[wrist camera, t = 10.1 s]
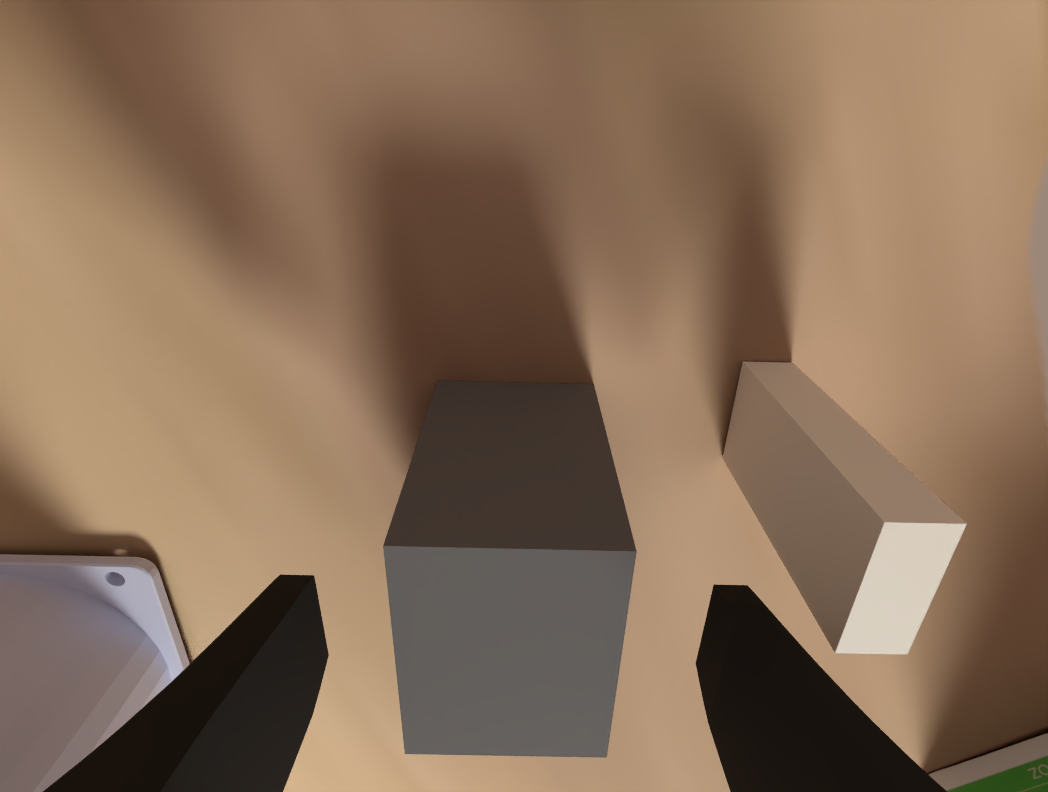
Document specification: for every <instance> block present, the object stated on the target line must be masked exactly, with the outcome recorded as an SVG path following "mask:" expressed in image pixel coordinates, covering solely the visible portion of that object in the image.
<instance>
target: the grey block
mask: <svg viewBox="0 0 1048 792" xmlns="http://www.w3.org/2000/svg"><path fill="white" fill-rule="evenodd" d="M383 548H384V557H385V567H386V577H387V586H388V596H389V605H390V615H391V624H392V634H393V644H394V653H395V663H396V672H397V682H398V691H399V701H400V711H401V720H402V730H403V739H404V749H405V754H440V755H496V756H553V757H607V751H608V744H609V737H610V731H611V724H612V717H613V710H614V703H615V696H616V689H617V682H618V675H619V668H620V661H621V655H622V648H623V641H624V634H625V627H626V620H627V613H628V606H629V599H630V592H631V585H632V579H633V572H634V565H635V558H636V548H635V544H634V540H633V536H632V532H631V528H630V524H629V520H628V517H627V513H626V509H625V505H624V501H623V497H622V493H621V489H620V485H619V481H618V477H617V473H616V470H615V466H614V462H613V458H612V454H611V450H610V446H609V442H608V438H607V434H606V430H605V426H604V423H603V419H602V415H601V411H600V407H599V403H598V399H597V395H596V391H595V387H594V384H570V383H529V382H488V381H446V380H438V381H437V384H436V387H435V390H434V393H433V396H432V399H431V402H430V405H429V408H428V411H427V414H426V417H425V421H424V424H423V427H422V430H421V433H420V436H419V439H418V442H417V445H416V448H415V451H414V454H413V457H412V460H411V463H410V466H409V469H408V472H407V475H406V478H405V481H404V484H403V488H402V491H401V494H400V497H399V500H398V503H397V506H396V509H395V512H394V515H393V518H392V521H391V524H390V527H389V530H388V533H387V536H386V539H385V542H384V545H383Z"/></svg>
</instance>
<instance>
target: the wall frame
mask: <svg viewBox="0 0 1048 792" xmlns="http://www.w3.org/2000/svg"><path fill="white" fill-rule="evenodd" d="M723 459H724V461H725V463H726V465H727V466H728V468H729V470H730V472H731V473H732V475H733V477H734V479H735V480H736V482H737V484H738V485H739V487H740V489H741V491H742V492H743V494H744V496H745V498H746V499H747V501H748V503H749V505H750V506H751V508H752V510H753V512H754V513H755V515H756V517H757V518H758V520H759V522H760V524H761V525H762V527H763V529H764V531H765V532H766V534H767V536H768V538H769V539H770V541H771V543H772V544H773V546H774V548H775V550H776V551H777V553H778V555H779V557H780V558H781V560H782V562H783V564H784V565H785V567H786V569H787V570H788V572H789V574H790V576H791V577H792V579H793V581H794V583H795V584H796V586H797V588H798V590H799V591H800V593H801V595H802V596H803V598H804V600H805V602H806V603H807V605H808V607H809V609H810V610H811V612H812V614H813V616H814V617H815V619H816V621H817V622H818V624H819V626H820V628H821V629H822V631H823V633H824V635H825V636H826V638H827V640H828V642H829V643H830V645H831V647H832V648H833V650H834V652H835V653H860V654H908V652H909V649H910V647H911V645H912V643H913V641H914V638H915V636H916V634H917V632H918V630H919V628H920V625H921V623H922V621H923V619H924V617H925V614H926V612H927V610H928V608H929V606H930V603H931V601H932V599H933V597H934V595H935V593H936V590H937V588H938V586H939V584H940V582H941V579H942V577H943V575H944V573H945V571H946V568H947V566H948V564H949V562H950V560H951V558H952V555H953V553H954V551H955V549H956V547H957V544H958V542H959V540H960V538H961V536H962V533H963V531H964V529H965V527H966V525H967V524H966V523H965V522H964V521H963V520H962V519H961V518H960V517H959V516H958V515H957V514H956V513H954V512H953V511H952V510H951V509H950V508H949V507H948V506H947V505H946V504H945V503H944V502H943V501H942V500H940V499H939V498H938V497H937V496H936V495H935V494H934V493H933V492H932V491H931V490H930V489H929V488H927V487H926V486H925V485H924V484H923V483H922V482H921V481H920V480H919V479H918V478H917V477H916V476H914V475H913V474H912V473H911V472H910V471H909V470H908V469H907V468H906V467H905V466H904V465H903V464H902V463H900V462H899V461H898V460H897V459H896V458H895V457H894V456H893V455H892V454H891V453H890V452H889V451H887V450H886V449H885V448H884V447H883V446H882V445H881V444H880V443H879V442H878V441H877V440H876V439H875V438H873V437H872V436H871V435H870V434H869V433H868V432H867V431H866V430H865V429H864V428H863V427H862V426H860V425H859V424H858V423H857V422H856V421H855V420H854V419H853V418H852V417H851V416H850V415H849V414H848V413H846V412H845V411H844V410H843V409H842V408H841V407H840V406H839V405H838V404H837V403H836V402H835V401H833V400H832V399H831V398H830V397H829V396H828V395H827V394H826V393H825V392H824V391H823V390H822V389H821V388H819V387H818V386H817V385H816V384H815V383H814V382H813V381H812V380H811V379H810V378H809V377H808V376H806V375H805V374H804V373H803V372H802V371H801V370H800V369H799V368H798V367H797V366H796V365H795V364H794V363H782V362H742V367H741V372H740V377H739V381H738V386H737V391H736V396H735V401H734V405H733V410H732V415H731V420H730V424H729V429H728V434H727V439H726V444H725V448H724V453H723Z"/></svg>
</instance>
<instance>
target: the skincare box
mask: <svg viewBox="0 0 1048 792" xmlns="http://www.w3.org/2000/svg"><path fill="white" fill-rule="evenodd" d="M928 775H929V776H930V777H931V778H932V779H934V780H935V781H936V782H937V783H938V784H939V785H940V786H942V787H943V788H944V789H945V790H946V791H947V792H1048V733H1046V734H1043V735H1040V736H1037V737H1034V738H1031V739H1028V740H1026V741H1023V742H1020V743H1017V744H1014V745H1012V746H1009V747H1006V748H1003V749H1000V750H998V751H995V752H992V753H989V754H986V755H983V756H980V757H977V758H974V759H971V760H968V761H966V762H963V763H960V764H957V765H954V766H951V767H948V768H945V769H941V770H938V771H936V772H933V773H930V774H928Z"/></svg>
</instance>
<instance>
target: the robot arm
mask: <svg viewBox="0 0 1048 792" xmlns="http://www.w3.org/2000/svg"><path fill="white" fill-rule="evenodd" d="M327 659H328V650H327V644H326V639H325V633H324V627H323V622H322V616H321V611H320V605H319V600H318V594H317V589H316V583H315V578H314V576H311V575H280V576H278V577H277V578H276V579H275V580H274V581H273V582H272V583H271V584H270V585H269V586H268V587H267V588H266V589H265V590H264V591H263V592H262V593H261V594H260V595H259V596H258V597H257V598H256V599H255V600H254V601H253V602H252V603H251V604H250V605H249V606H248V607H247V608H246V609H245V610H244V611H243V612H242V613H241V614H240V615H239V616H238V617H237V618H236V619H235V620H234V621H233V622H232V623H231V624H230V625H229V626H228V627H227V628H226V629H225V630H224V631H223V632H222V633H221V634H220V635H219V636H218V637H217V638H216V639H215V640H214V641H213V642H212V643H211V644H210V645H209V646H208V647H207V648H206V649H205V650H204V651H203V652H202V653H201V654H200V655H199V656H198V657H197V658H196V659H195V660H194V661H192V662H191V663H189V660H188V657H187V654H186V651H185V648H184V645H183V642H182V639H181V636H180V633H179V630H178V627H177V624H176V621H175V618H174V615H173V612H172V609H171V606H170V603H169V600H168V597H167V594H166V592H165V589H164V586H163V583H162V580H161V577H160V574H159V571H158V569H157V567H156V566H155V564H153V563H152V562H151V561H149V560H147V559H145V558H141V557H117V556H66V555H15V554H0V792H283V790H284V787H285V785H286V782H287V780H288V777H289V775H290V772H291V770H292V767H293V764H294V762H295V759H296V757H297V754H298V752H299V749H300V746H301V744H302V741H303V739H304V736H305V733H306V731H307V728H308V725H309V723H310V720H311V718H312V715H313V712H314V708H315V704H316V701H317V697H318V694H319V690H320V686H321V683H322V679H323V675H324V671H325V667H326V663H327ZM696 667H697V672H698V677H699V682H700V687H701V692H702V697H703V701H704V706H705V710H706V715H707V719H708V723H709V726H710V730H711V733H712V736H713V739H714V742H715V745H716V748H717V751H718V755H719V758H720V761H721V764H722V767H723V770H724V773H725V776H726V779H727V782H728V785H729V788H730V791H731V792H947V791H946V790H945V789H944V788H943V787H942V786H940V785H939V784H938V783H937V782H936V781H935V780H934V779H932V778H931V777H930V776H929V775H928V774H927V773H926V772H925V771H924V770H923V769H922V768H921V767H919V766H918V765H917V764H916V763H915V762H914V761H913V760H912V759H911V758H910V757H909V756H908V755H907V754H905V753H904V752H903V751H902V750H901V749H900V748H899V747H898V746H897V745H896V744H895V743H894V742H893V741H892V740H891V739H890V738H889V737H888V736H887V735H886V734H885V733H884V732H883V731H882V730H881V729H880V728H879V727H878V726H877V725H876V724H875V723H874V722H873V721H872V720H871V719H870V718H869V717H868V716H867V715H866V714H865V713H864V712H863V711H862V710H861V709H860V708H859V707H858V706H857V705H856V704H855V703H854V702H853V701H852V700H851V699H850V698H849V697H848V696H847V695H846V694H845V692H844V691H843V690H842V689H841V688H840V687H839V686H838V685H837V684H836V683H835V682H834V681H833V680H832V679H831V678H830V677H829V676H828V674H827V673H826V672H825V671H824V670H823V669H822V668H821V667H820V666H819V665H818V664H817V663H816V662H815V660H814V659H813V658H812V657H811V656H810V655H809V654H808V653H807V652H806V651H805V649H804V648H803V647H802V646H801V645H800V644H799V643H798V642H797V641H796V639H795V638H794V637H793V636H792V635H791V634H790V633H789V632H788V630H787V629H786V628H785V627H784V626H783V625H782V624H781V623H780V621H779V620H778V619H777V618H776V617H775V616H774V615H773V613H772V612H771V611H770V610H769V609H768V608H767V607H766V605H765V604H764V603H763V602H762V601H761V600H760V599H759V598H758V596H757V595H756V594H755V593H754V592H753V591H752V590H751V589H750V588H749V587H748V586H746V585H714V586H713V591H712V595H711V599H710V604H709V608H708V612H707V617H706V621H705V626H704V630H703V634H702V639H701V643H700V647H699V652H698V656H697V661H696Z"/></svg>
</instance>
